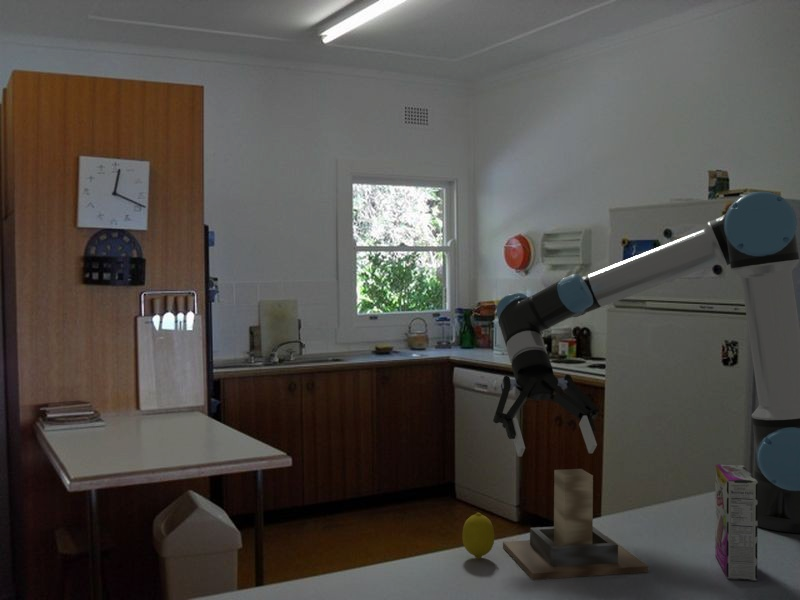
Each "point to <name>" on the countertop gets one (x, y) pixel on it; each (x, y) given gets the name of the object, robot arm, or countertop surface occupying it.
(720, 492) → the candy bar box
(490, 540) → the lemon
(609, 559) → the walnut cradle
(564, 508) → the maple post
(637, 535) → the countertop surface
